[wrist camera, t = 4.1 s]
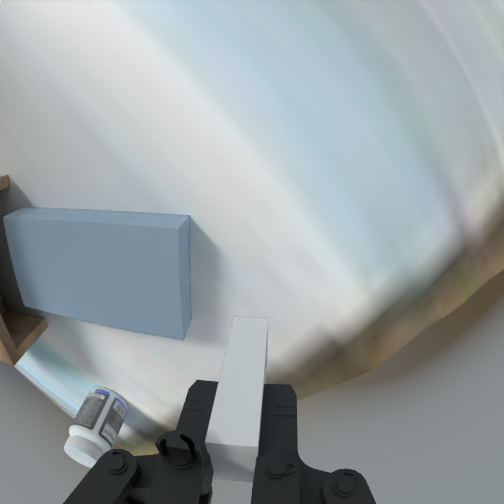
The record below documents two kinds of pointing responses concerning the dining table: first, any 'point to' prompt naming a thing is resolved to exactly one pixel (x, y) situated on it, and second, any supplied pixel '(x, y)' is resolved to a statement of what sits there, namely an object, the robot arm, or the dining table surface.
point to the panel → (104, 267)
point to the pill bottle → (96, 426)
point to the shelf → (17, 325)
